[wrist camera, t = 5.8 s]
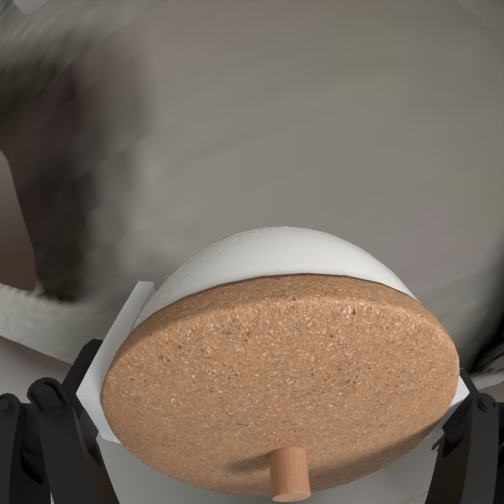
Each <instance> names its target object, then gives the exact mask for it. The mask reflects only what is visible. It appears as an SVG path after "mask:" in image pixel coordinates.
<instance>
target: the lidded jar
mask: <svg viewBox="0 0 504 504" xmlns="http://www.w3.org/2000/svg"><path fill="white" fill-rule="evenodd" d="M459 374H460V368H459V356H458V353H457V350H456V347H455V345H454V342H453V341H452V339H451V338H450V336H449V335H448V333H447V332H446V331H445V329H444V328H443V327H442V325H441V324H440V323H439V322H438V320H437V319H436V318H435V317H434V315H433V314H432V313H431V312H430V311H429V310H428V309H427V308H426V307H425V306H423V305H422V304H421V303H419V302H418V300H417V299H416V298H415V297H414V296H413V295H412V293H411V292H410V291H409V290H408V289H407V288H406V287H405V285H404V284H403V283H402V282H401V281H400V280H399V279H398V278H397V276H396V275H395V274H394V273H393V272H392V271H390V270H389V269H388V268H387V267H386V266H384V265H383V264H382V263H381V262H379V261H378V260H377V259H375V258H374V257H372V256H371V255H370V254H368V253H367V252H365V251H364V250H363V249H361V248H359V247H357V246H355V245H353V244H351V243H349V242H347V241H345V240H342V239H340V238H338V237H336V236H334V235H331V234H328V233H324V232H320V231H316V230H312V229H307V228H296V227H270V228H259V229H254V230H250V231H245V232H241V233H237V234H234V235H231V236H229V237H226V238H224V239H221V240H219V241H216V242H214V243H212V244H211V245H209V246H207V247H205V248H204V249H202V250H200V251H199V252H197V253H196V254H194V255H193V256H192V257H191V258H189V259H188V260H187V261H186V262H185V263H184V264H182V265H181V266H180V267H179V268H178V269H176V270H175V271H174V272H173V273H172V274H171V275H170V276H169V277H168V278H167V279H166V280H165V282H164V283H163V284H162V285H161V287H160V288H159V289H158V290H157V292H156V293H155V294H154V295H153V297H152V298H151V299H150V301H149V302H148V303H147V304H146V306H145V307H144V309H143V311H142V313H141V314H140V316H139V318H138V319H137V321H136V323H135V325H134V327H133V329H132V331H131V333H130V334H129V335H128V337H127V338H126V339H125V341H124V342H123V343H122V345H121V346H120V347H119V349H118V350H117V352H116V354H115V356H114V358H113V359H112V362H111V364H110V366H109V368H108V371H107V374H106V376H105V379H104V382H103V384H102V398H101V402H102V406H103V410H104V414H105V417H106V420H107V422H108V424H109V426H110V428H111V430H112V432H113V434H114V435H115V436H116V437H117V439H118V440H119V441H120V442H121V443H122V444H123V446H125V448H127V449H128V450H129V451H130V452H131V453H132V454H133V455H134V456H135V457H136V458H138V459H139V460H141V461H142V462H144V463H145V464H147V465H148V466H150V467H151V468H153V469H155V470H157V471H159V472H160V473H162V474H164V475H166V476H168V477H171V478H173V479H176V480H178V481H181V482H183V483H186V484H190V485H192V486H195V487H198V488H202V489H207V490H211V491H216V492H221V493H227V494H234V495H243V496H271V499H272V500H273V501H277V502H293V501H299V500H303V499H306V498H308V497H310V495H311V493H310V492H316V491H320V490H324V489H328V488H332V487H336V486H339V485H343V484H346V483H349V482H352V481H354V480H357V479H359V478H362V477H364V476H367V475H369V474H371V473H373V472H375V471H377V470H380V469H382V468H383V467H385V466H387V465H389V464H390V463H392V462H394V461H395V460H397V459H398V458H400V457H401V456H403V455H404V454H406V453H407V452H409V451H410V450H411V449H413V448H414V447H415V446H416V445H418V444H419V443H420V442H421V441H422V440H423V439H424V438H425V437H426V436H427V435H428V434H429V433H430V432H431V431H432V430H433V429H434V428H435V427H436V426H437V424H438V423H439V422H440V421H441V419H442V418H443V416H444V415H445V413H446V412H447V410H448V409H449V407H450V405H451V403H452V400H453V398H454V396H455V394H456V390H457V385H458V380H459Z"/></svg>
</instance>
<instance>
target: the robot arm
mask: <svg viewBox="0 0 504 504" xmlns="http://www.w3.org/2000/svg"><path fill="white" fill-rule="evenodd" d="M155 293H156V289H155V282H147V281H139V282H138V283H137V285H136V286H135V288H134V290H133V291H132V293H131V295H130V296H129V298H128V300H127V301H126V303H125V305H124V306H123V308H122V310H121V311H120V313H119V315H118V316H117V318H116V320H115V322H114V323H113V325H112V327H111V329H110V330H109V332H108V334H107V336H106V337H105V339H104V341H103V340H97V339H92V340H91V341H90V342H88V343H87V344H86V345H85V346H83V348H82V350H81V351H80V353H79V355H78V358H76V360H75V362H74V363H73V364H74V365H72V367H71V369H70V371H69V372H68V374H67V376H66V378H65V379H64V381H63V383H62V385H61V384H60V383H59V382H58V381H57V380H56V379H53V378H49V377H46V378H41V379H38V380H36V381H35V382H34V383H32V384H31V386H30V387H29V389H28V392H27V397H28V399H29V400H30V402H31V403H32V404H29V403H28V404H27V403H21V402H20V401H19V399H18V398H17V397H16V396H15V395H13V394H10V393H6V394H2V395H0V504H51V493H52V497H53V501H54V504H120V503H119V501H118V498H117V496H116V494H115V491H114V489H113V486H112V483H111V481H110V478H109V475H108V473H107V470H106V467H105V464H104V461H103V458H102V455H101V452H100V449H99V445H98V443H97V441H96V437H97V434H98V432H99V433H100V435H101V436H102V438H103V439H105V440H109V441H112V442H116V443H120V444H122V443H121V442H120V441H119V440H118V439H117V437H116V436H115V435H114V434H113V432H112V430H111V428H110V426H109V424H108V422H107V420H106V417H105V414H104V410H103V406H102V402H101V398H102V384H103V382H104V379H105V376H106V374H107V371H108V368H109V366H110V364H111V362H112V359H113V358H114V356H115V354H116V352H117V350H118V349H119V347H120V346H121V345H122V343H123V342H124V341H125V339H126V338H127V337H128V335H129V334H130V333H131V331H132V329H133V327H134V325H135V323H136V321H137V319H138V318H139V316H140V314H141V313H142V311H143V309H144V307H145V306H146V304H147V303H148V302H149V301H150V299H151V298H152V297H153V295H154V294H155ZM459 368H460V374H459V380H458V385H457V390H456V394H455V396H454V398H453V400H452V403H451V405H450V407H449V409H448V410H447V412H446V413H445V415H444V416H443V418H442V419H441V421H440V422H439V423H438V424H437V426H436V427H435V428H434V429H433V430H432V431H431V432H430V433H429V434H428V435H427V436H426V437H425V438H424V439H426V438H429V437H433V436H435V435H436V434H437V433H438V431H439V430H440V429H441V428H443V431H444V434H443V436H442V437H441V438H440V439H439V440H438V441H437V442H436V443H435V444H434V445H433V447H432V449H431V450H434V449H435V448H436V447H437V446H438V445H439V448H438V449H437V451H438V455H437V459H436V464H435V468H434V472H433V476H432V480H431V484H430V488H429V491H428V495H427V499H426V502H425V504H504V403H503V402H496V401H495V399H494V398H493V397H491V396H490V395H488V394H486V393H479V392H478V390H477V389H476V387H475V385H474V384H473V382H472V380H471V379H470V377H469V375H468V374H467V372H466V371H465V369H463V366H462V364H461V363H459Z"/></svg>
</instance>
